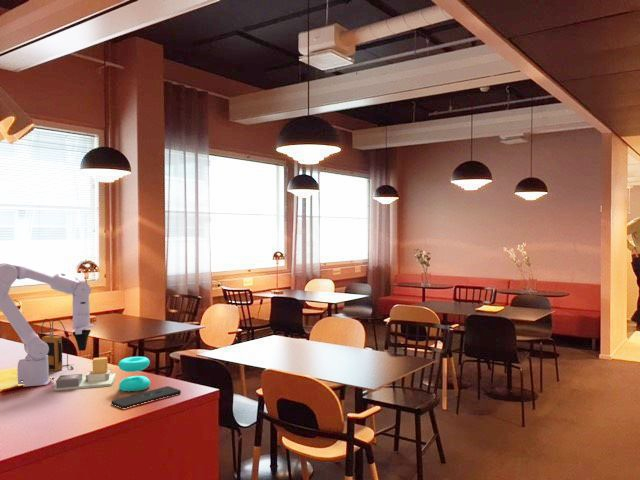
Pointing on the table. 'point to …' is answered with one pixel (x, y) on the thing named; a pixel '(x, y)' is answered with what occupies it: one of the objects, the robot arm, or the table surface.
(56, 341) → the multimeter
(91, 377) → the frame
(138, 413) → the table surface
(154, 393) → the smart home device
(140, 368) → the donuts
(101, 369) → the plug
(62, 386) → the grey dome button
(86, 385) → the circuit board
